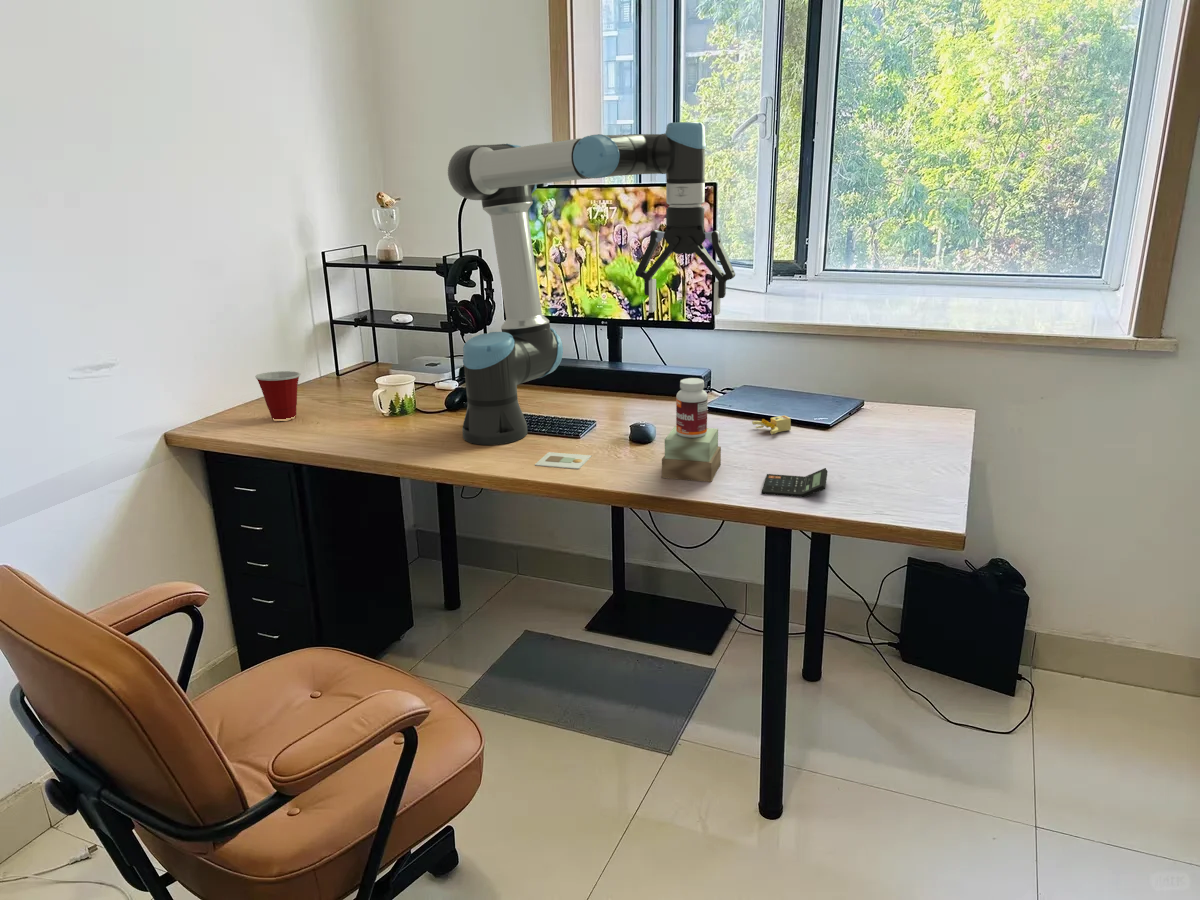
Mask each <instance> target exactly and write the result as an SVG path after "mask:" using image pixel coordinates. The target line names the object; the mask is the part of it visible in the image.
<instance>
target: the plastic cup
mask: <svg viewBox="0 0 1200 900" xmlns="http://www.w3.org/2000/svg"><path fill="white" fill-rule="evenodd" d="M300 376H301V373H300V372H299V371H292V370H289V371H288V370H287V371H286V370H283V371H280V370H278V371H268V372H267V371H266V372H261V373H259V374H256V375H255V379H256V380H257V382H258V385H259V387H260V389H261V392H262V395H263V398H264V400H265V401H264V402H265V403H266V407H267V409H268V410H269V414H270V417H271V419H272V418H274V419H286V418H291V417H294V416H295V415H296V416H297V405H298V385H299V379H300Z"/></svg>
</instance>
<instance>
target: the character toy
mask: <svg viewBox="0 0 1200 900" xmlns="http://www.w3.org/2000/svg"><path fill="white" fill-rule="evenodd" d="M791 421H792V420H791V417H789V416H787V415H778V416H774V417H770V422H769V421H768V420H766V419H765V418H762V419H761V420H753V421H752V422H751V424H752V425H756V426H755V429H761V428H764V427H765V428H767V429H768V428H770V432H769V433H770V435H775V434H776V433H781V432H786V431H791V429H792V427H791V425H792V422H791Z"/></svg>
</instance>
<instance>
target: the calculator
mask: <svg viewBox="0 0 1200 900" xmlns="http://www.w3.org/2000/svg"><path fill="white" fill-rule="evenodd" d="M827 477H828V470H827V468H826V467H825V468H822V469H819V470H817V471H815V472H812V473H810V474H808V475H806V476H800V475H799V476H798V475H788V474H787V475H786V474H773V473H766V476H765V479H764V482H763V485H762V489H761V495H765V496H767V495H768V496H780V497H781V496H782V497H795V498H806V497H809V496H813V495H815V494H816V493H819V492H823V491H825V490H826V488H827V487H826V485H827Z"/></svg>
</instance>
